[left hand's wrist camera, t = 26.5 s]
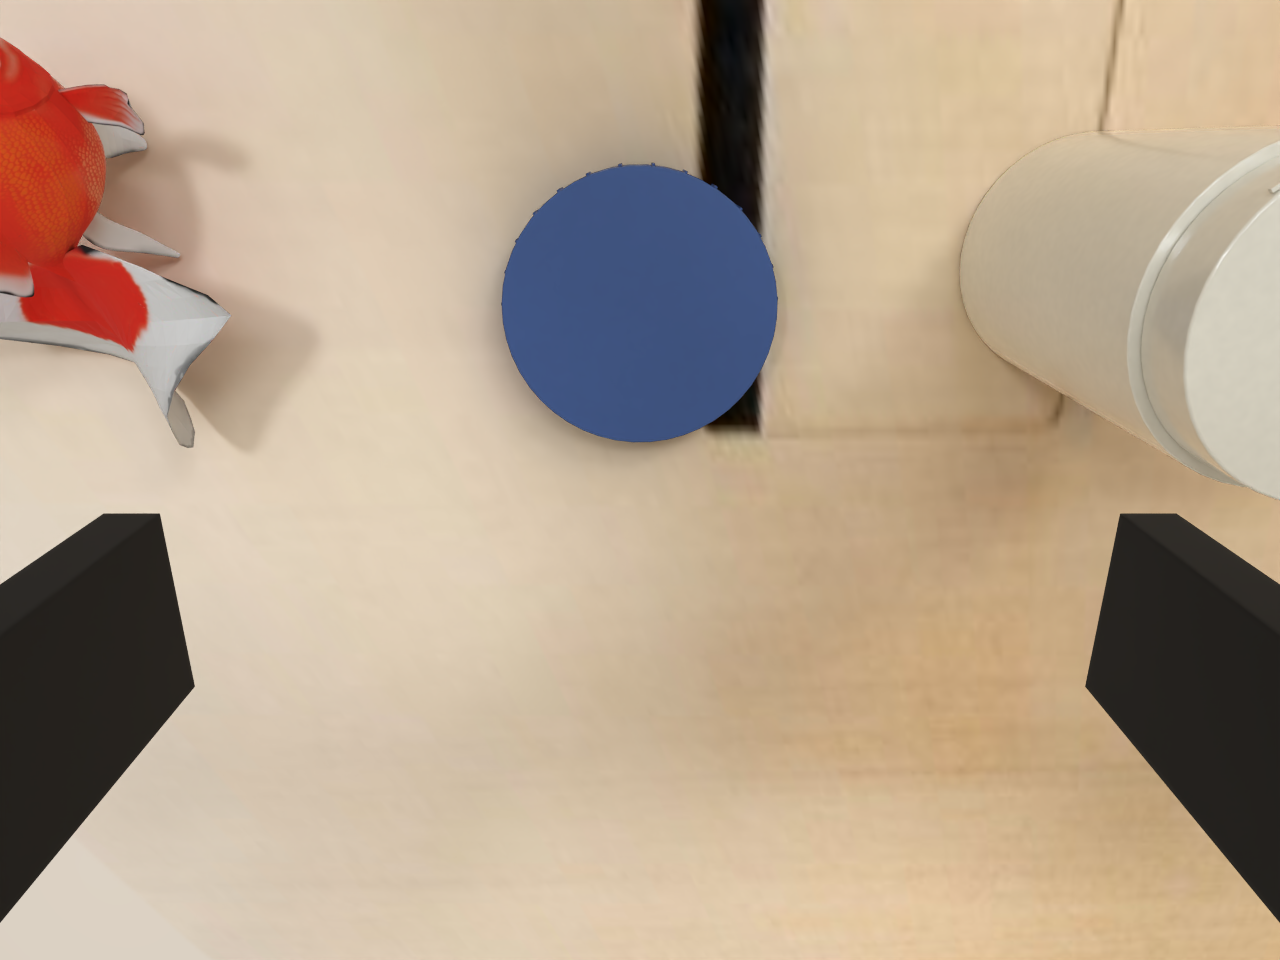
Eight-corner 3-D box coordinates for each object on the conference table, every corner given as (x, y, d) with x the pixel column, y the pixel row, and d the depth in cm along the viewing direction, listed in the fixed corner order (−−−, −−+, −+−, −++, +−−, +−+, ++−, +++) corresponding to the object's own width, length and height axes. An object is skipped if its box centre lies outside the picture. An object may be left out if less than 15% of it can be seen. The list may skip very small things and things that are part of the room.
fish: (245, 6, 29) (-18, 130, 22) (343, 382, 40) (187, 539, 34) (-9, -43, 31) (-312, 56, 25) (150, 324, 43) (-30, 459, 36)
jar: (1239, 285, 37) (1635, 377, 22) (1027, 418, 39) (1263, 584, 24) (1137, 76, 34) (1513, 23, 19) (915, 231, 36) (1104, 290, 21)
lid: (454, 267, 36) (442, 274, 34) (675, 103, 34) (678, 100, 32) (607, 472, 40) (605, 492, 37) (819, 334, 37) (831, 346, 35)
